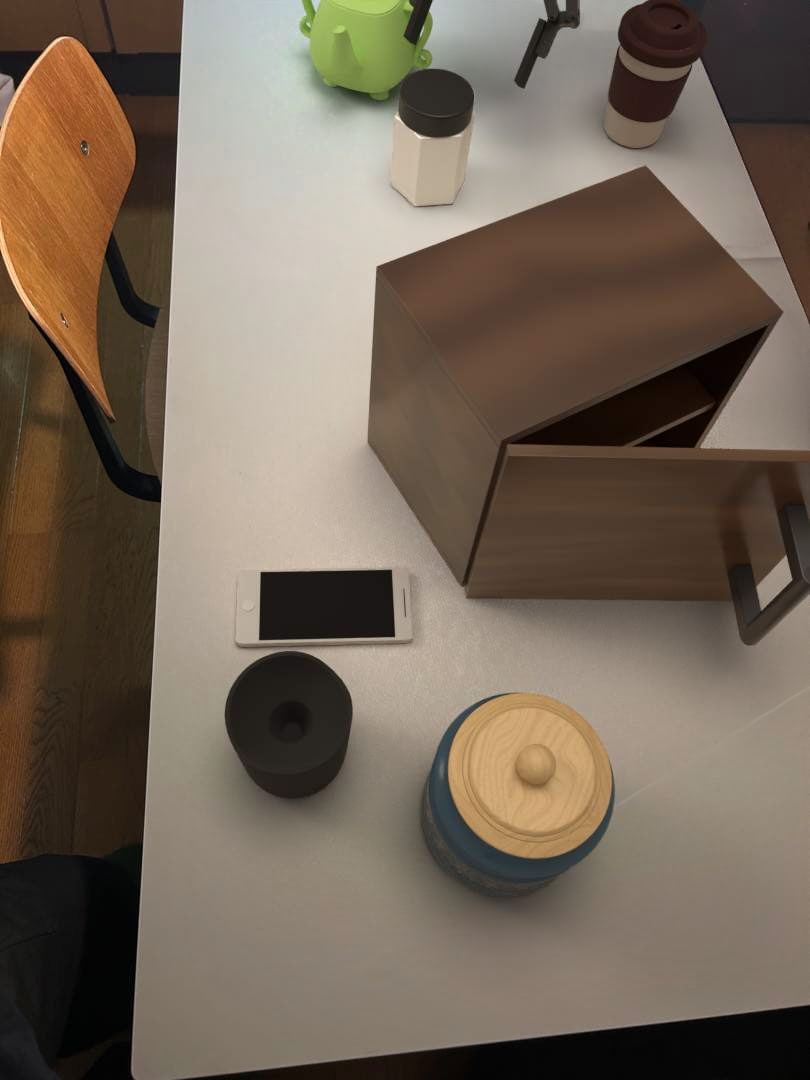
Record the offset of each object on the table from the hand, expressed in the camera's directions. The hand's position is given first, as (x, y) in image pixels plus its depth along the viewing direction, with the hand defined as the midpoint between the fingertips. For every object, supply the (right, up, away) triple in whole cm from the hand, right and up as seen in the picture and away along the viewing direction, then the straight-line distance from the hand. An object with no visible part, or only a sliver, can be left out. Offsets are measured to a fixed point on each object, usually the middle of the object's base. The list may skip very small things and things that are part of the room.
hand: (463, 63), depth 103 cm
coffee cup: (+22, -1, +14) cm, 26 cm away
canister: (+1, -75, -27) cm, 80 cm away
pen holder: (-16, -70, -25) cm, 76 cm away
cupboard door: (+12, -61, -19) cm, 65 cm away
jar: (-4, -11, +7) cm, 13 cm away
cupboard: (+5, -45, -10) cm, 46 cm away
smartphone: (-14, -59, -19) cm, 64 cm away
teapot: (-12, +6, +15) cm, 20 cm away
